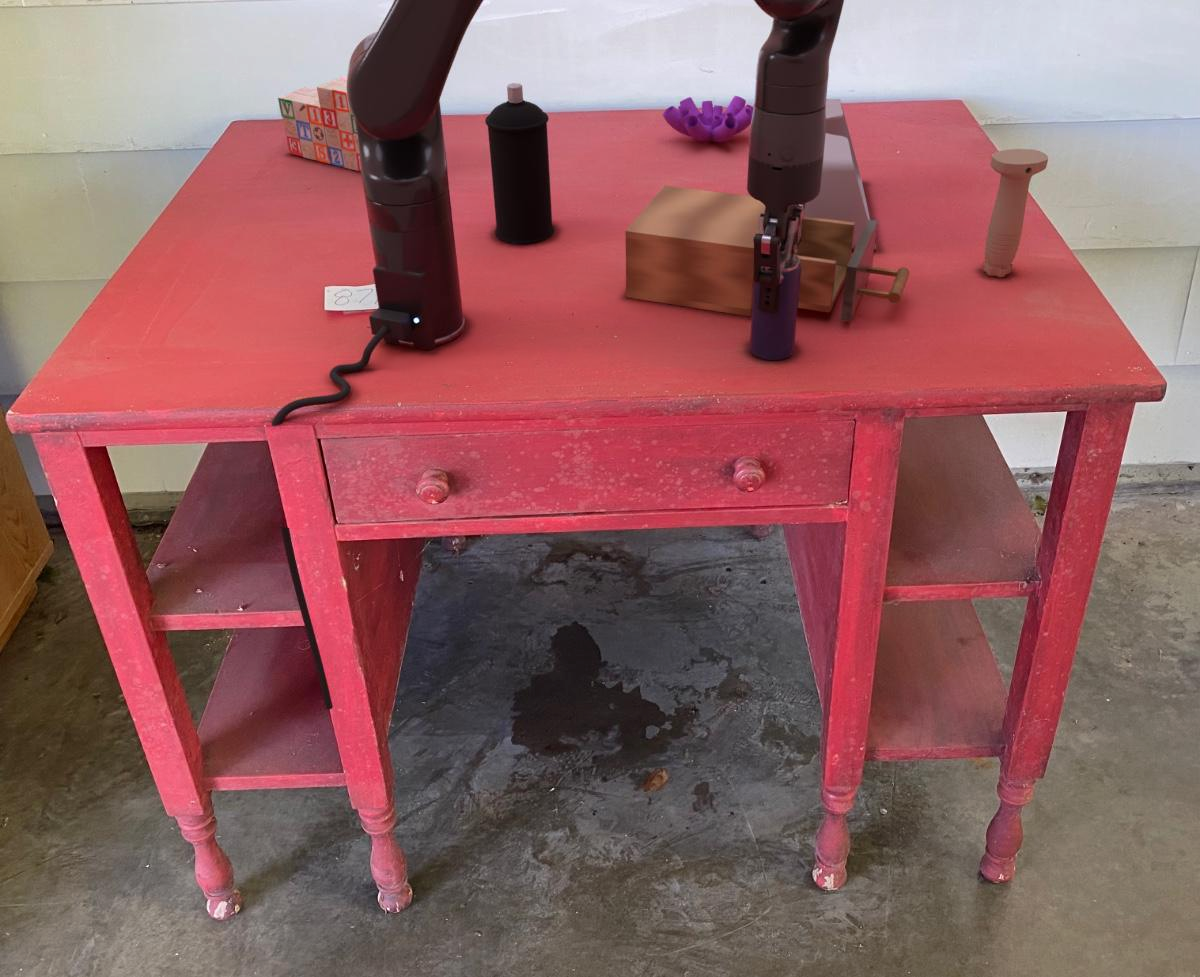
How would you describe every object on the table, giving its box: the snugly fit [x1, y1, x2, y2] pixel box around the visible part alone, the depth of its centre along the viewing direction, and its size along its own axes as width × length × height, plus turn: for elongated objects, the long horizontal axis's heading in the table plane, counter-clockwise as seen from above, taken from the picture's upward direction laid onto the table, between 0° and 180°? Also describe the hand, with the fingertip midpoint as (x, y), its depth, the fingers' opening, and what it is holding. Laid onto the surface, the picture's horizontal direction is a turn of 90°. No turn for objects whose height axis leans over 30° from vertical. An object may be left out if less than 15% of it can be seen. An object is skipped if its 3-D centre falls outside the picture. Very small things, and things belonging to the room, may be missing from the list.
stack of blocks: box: [277, 75, 361, 173], centre depth 175 cm, size 21×6×12 cm, turn 57°
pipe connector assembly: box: [662, 95, 754, 143], centre depth 179 cm, size 11×15×10 cm
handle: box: [982, 148, 1049, 278], centre depth 137 cm, size 5×6×15 cm
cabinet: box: [624, 185, 765, 317], centre depth 139 cm, size 16×15×9 cm
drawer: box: [796, 216, 910, 323], centre depth 134 cm, size 20×14×7 cm
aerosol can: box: [484, 82, 555, 246], centre depth 148 cm, size 8×8×20 cm
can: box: [749, 251, 802, 361], centre depth 124 cm, size 5×5×11 cm
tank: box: [804, 98, 877, 251], centre depth 153 cm, size 25×16×12 cm, turn 174°
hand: (775, 299), depth 123 cm, fingers closed on can, 5 cm apart
